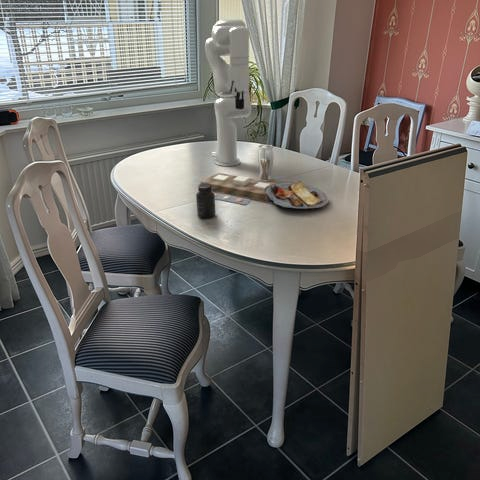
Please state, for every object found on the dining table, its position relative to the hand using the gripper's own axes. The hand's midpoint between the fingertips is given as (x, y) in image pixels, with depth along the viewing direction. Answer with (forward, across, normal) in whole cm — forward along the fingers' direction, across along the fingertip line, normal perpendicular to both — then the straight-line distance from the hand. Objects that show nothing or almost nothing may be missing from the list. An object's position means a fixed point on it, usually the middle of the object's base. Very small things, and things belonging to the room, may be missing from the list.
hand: (239, 108), depth 193 cm
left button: (+31, +8, -5) cm, 33 cm away
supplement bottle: (+32, +38, +7) cm, 50 cm away
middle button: (+30, +8, +5) cm, 32 cm away
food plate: (+31, +9, +31) cm, 45 cm away
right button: (+31, +8, +15) cm, 35 cm away
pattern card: (+32, +20, +5) cm, 38 cm away
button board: (+32, +8, +5) cm, 33 cm away
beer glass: (+32, -9, +8) cm, 34 cm away
